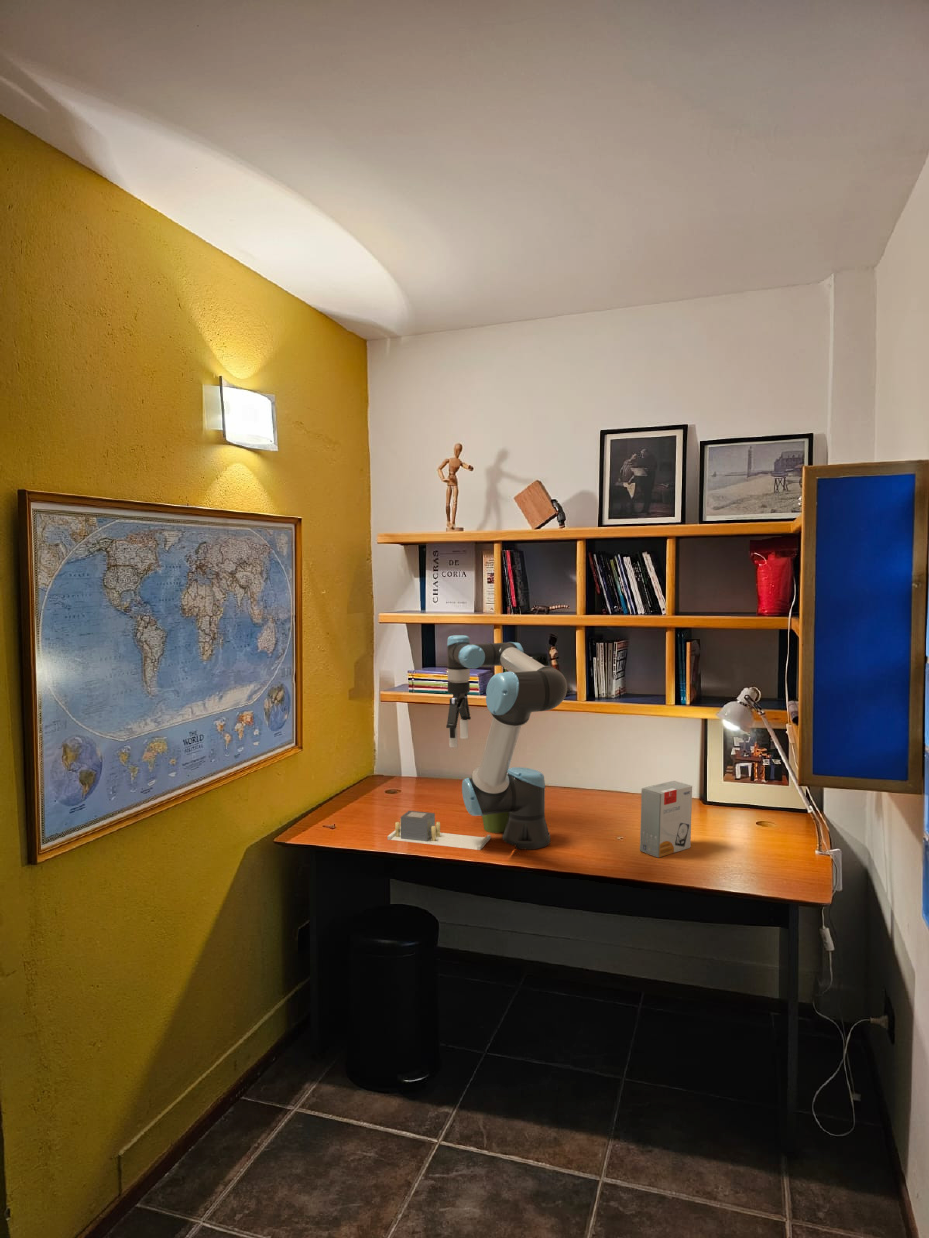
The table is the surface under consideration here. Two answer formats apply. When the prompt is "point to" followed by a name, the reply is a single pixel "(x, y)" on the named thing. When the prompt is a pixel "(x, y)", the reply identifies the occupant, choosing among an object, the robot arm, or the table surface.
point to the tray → (444, 838)
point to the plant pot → (495, 822)
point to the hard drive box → (665, 818)
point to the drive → (417, 825)
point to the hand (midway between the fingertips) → (458, 742)
